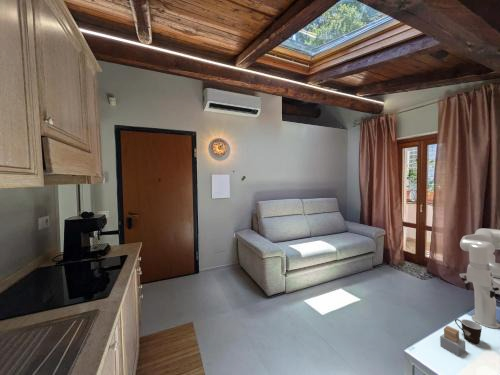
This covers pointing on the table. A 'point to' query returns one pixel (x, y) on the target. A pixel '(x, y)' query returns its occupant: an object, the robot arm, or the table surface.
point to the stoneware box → (453, 345)
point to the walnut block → (451, 333)
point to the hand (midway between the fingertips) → (479, 293)
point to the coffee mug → (470, 331)
